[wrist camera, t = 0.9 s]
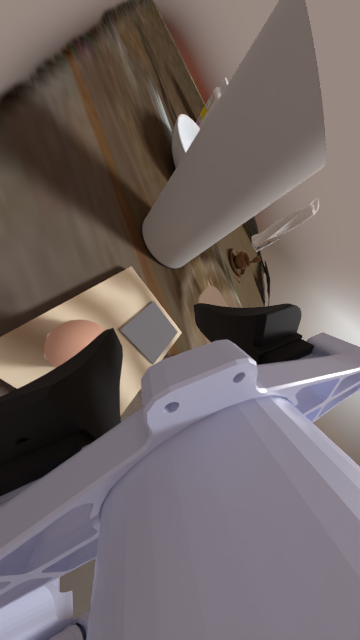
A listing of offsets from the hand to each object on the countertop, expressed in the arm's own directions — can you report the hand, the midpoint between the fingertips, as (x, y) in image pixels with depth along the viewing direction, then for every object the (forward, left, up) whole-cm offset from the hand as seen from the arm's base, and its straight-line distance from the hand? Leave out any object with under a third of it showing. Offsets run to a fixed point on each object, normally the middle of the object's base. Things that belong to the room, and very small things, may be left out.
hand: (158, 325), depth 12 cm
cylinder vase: (+22, +9, -13) cm, 27 cm away
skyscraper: (+92, -12, -13) cm, 94 cm away
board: (-1, 0, -13) cm, 13 cm away
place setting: (+59, -14, -14) cm, 62 cm away
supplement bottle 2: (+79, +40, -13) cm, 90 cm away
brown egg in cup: (-5, +3, -11) cm, 12 cm away
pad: (+4, -3, -11) cm, 13 cm away
